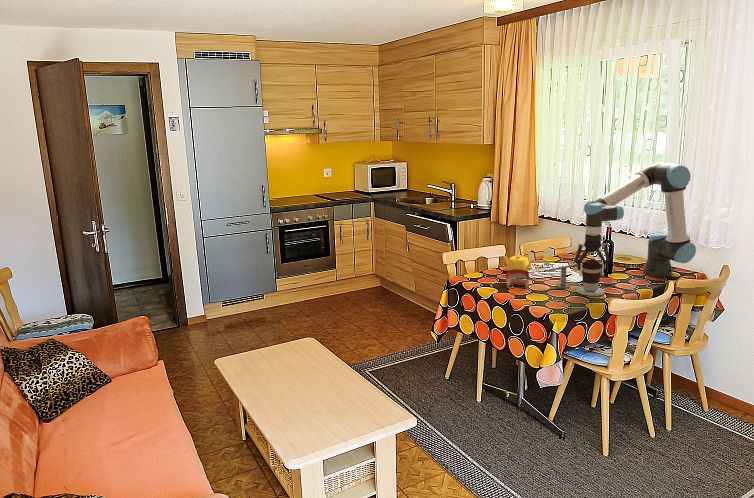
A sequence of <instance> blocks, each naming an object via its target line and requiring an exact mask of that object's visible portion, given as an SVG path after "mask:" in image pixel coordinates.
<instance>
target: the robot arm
mask: <svg viewBox="0 0 754 498" xmlns="http://www.w3.org/2000/svg"><path fill="white" fill-rule="evenodd" d="M691 178H692V177H691V172H690V170H689V168H688V167H687V166H685V165H682V164H680V163H679V164H678V163H669V162H656V163H653V164H649V165H648V166H646V167H644V168H642V169H640V170H638V171H637V172H635V175H634V176H633V177H631V178H630V179H628V180H627V181H624V182H623V183H622V184H620V185H618V186H617V187H616V188H614V189H612V190H611V191H609V192H607V193H606V194H604V195H602V196H601V197H599V198H598V199H596V200H588V201H586V203H585V204H584V207H583V211H584V213H585V214H586V215H585V236H584V243H578V245H577V247H578V248H577V250H576V253H575V257H574V258H573V261H574V264H578V266H576V267H577V268H578V270H579V271H578V273H579V274H578V275H579V277H582V263H583V262H584V259H585V258H586V256H587V254H589V253H592V252H593V253H595V252H597V255H598V257H599V258H600V260H601V261H602V262H600V264H602V268H601V269H600V271H601V273H600V277H604V273H605V272H604V270H605V271H606V269H607V264H609V263H611V259H610V256H609V251H608V244H607V243H605V242H604V243H602V226H603V225H602V224H603V222H612V221H618V220H622V219H623V218H624V214H625V210H624V207H622V205H618V204H620V203H621V202H623V201H624V200H626V199H627V198H629V197H631V196H632V195H634V194H635V193H637V192H639V191H640V190H641V189H646V188H648V187H650V186H653V185H658V186H659V185H660V192H661V193H663V194H664V200H665V201H664V203H665V214H666V223H667V225H666V226H667V233H665V232H663V233H662V232H661V233H659V232H658V233H652V234H650V235H649V237H648V243H647V246H648V247H647V259H646V261H645V264H644V266H643V268H642V273H643V274H644V275H646V276H650V277H658V278H668V277H671V276H673V274H674V273H673V272H674V271H673V270H674V269H673V266H672V263H671V261H673V262H675V263H678V264H687V263H689V262H691V261H692V260H693V259H694V257H695V255H696V253H697V246H696V245H695V244H694V243H693V242H691V236H690V235H689V234H687V224H686V211H685V202H684V201H685V199H684V198H685V197H684V191H685V190H686V189H687V186H688V185H689V183H690V181H691ZM601 247H602V250H603V252H604V255H603V254H602V252H601V250H600V248H601ZM584 248H585V249H584ZM582 249H584V251H583V252H582ZM581 252H582V254H581ZM604 256H605V257H604Z"/></svg>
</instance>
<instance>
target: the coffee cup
mask: <svg viewBox="0 0 754 498" xmlns="http://www.w3.org/2000/svg"><path fill="white" fill-rule="evenodd" d="M581 263H582V268H583V270H582V276H581V277H582V285H583V288H584V289H585V290H588V291H596V290H598V288H599V283H600V280H601V268H602V264H601V262H599V260H596V259H595V260H594V259H586V260H584V261H583V262H581Z"/></svg>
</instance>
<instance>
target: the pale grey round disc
mask: <svg viewBox="0 0 754 498" xmlns="http://www.w3.org/2000/svg"><path fill="white" fill-rule="evenodd" d="M575 292H576V293H578V294H580V295H583V296H586V295H587V296H589V297H597V296H602V295H604V294H605V293H606V291H605V290H604V288H601V287H598V290H596V291H588V290H585V289H584V288H583V286H578V287H577V288H576V289H575Z"/></svg>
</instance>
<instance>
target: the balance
mask: <svg viewBox="0 0 754 498" xmlns="http://www.w3.org/2000/svg"><path fill="white" fill-rule="evenodd" d="M543 264H544V265H546V266H554V265H556V263H555V262H554V261H544V263H543ZM577 266H578V263H574V264H568V265H561V266H560V267H559V266H558V267H554V268H549V269H548V272H552V271H553V272H554V271H558V270H560V282H558V283H556V287H557V289H570V288H571V286H570V284H569V283H567V269H569V268H572V271H574V272H579V270H578V268H577ZM582 270H583V268H582Z"/></svg>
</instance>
